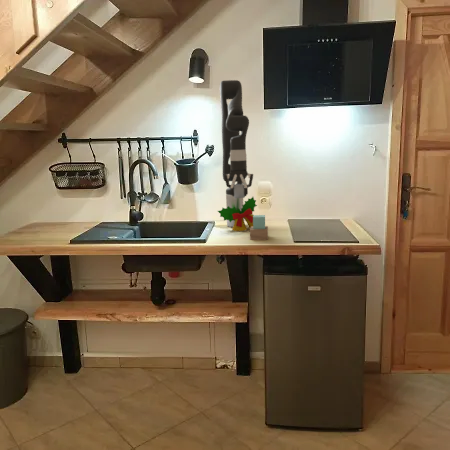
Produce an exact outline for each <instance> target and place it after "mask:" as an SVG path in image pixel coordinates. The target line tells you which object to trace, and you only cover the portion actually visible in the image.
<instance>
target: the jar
mask: <svg viewBox="0 0 450 450" xmlns="http://www.w3.org/2000/svg"><path fill="white" fill-rule="evenodd" d="M244 188H245V187H244V184H237V183H235V184H234V198H243V199H245V197H246V196H245V194H244Z"/></svg>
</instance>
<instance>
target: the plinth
mask: <svg viewBox="0 0 450 450" xmlns="http://www.w3.org/2000/svg"><path fill="white" fill-rule="evenodd" d="M268 229H269V226H267V225H265V229H253V226H251V228H249V239H250V241H269V239H268V237H269V234H268V233H269V230H268Z"/></svg>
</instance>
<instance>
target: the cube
mask: <svg viewBox="0 0 450 450" xmlns="http://www.w3.org/2000/svg"><path fill="white" fill-rule="evenodd" d="M265 226H266V214H256V215H255V214H253V229H265Z"/></svg>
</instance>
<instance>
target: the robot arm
mask: <svg viewBox="0 0 450 450" xmlns="http://www.w3.org/2000/svg"><path fill="white" fill-rule="evenodd" d="M242 87H243V86H242V83H241V81H240V80H237V79H236V80H235V79H234V80H233V79H232V80H231V79H229V80H221V81H220V83H219V98H220V109H221V140H222V141H221V142H222V179H223V181H225V185H226V190H225V198H226V199H225V200H226V205H225V206H226V208H227V207H228V206H229V207H230V208H234V207H235V208H236V209H240V211H241V208H243V206H242V205H244V198H234V185H235V184H244V187H245V188H244V194H245V197H247V195H248V194H249V192H248V190H249V189H248V188H250V187H252V184H253V179H254V174H253V173H248V170H247V168H248V166H247V162H248V161H247V151H246V150H247V149H246V148H247V147H246V146H247V145H246V139H247V134H248V129H249V126H250V125H249V124H250V120H249V117H248V116H247V115H244V109H243V88H242ZM228 100H230V101H229V103H228V102H227V101H228ZM229 161H230V162H229ZM247 177H248V179H249V182H248V184H247V180H246V178H247ZM230 182H231V183H230ZM243 219H244V218H243ZM244 220H245V219H244ZM234 223H235V221H234V220H232V221H231V222H230V221H229V220H226V226H227V227H230V228H231V227H232V228H233V226H234Z"/></svg>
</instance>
